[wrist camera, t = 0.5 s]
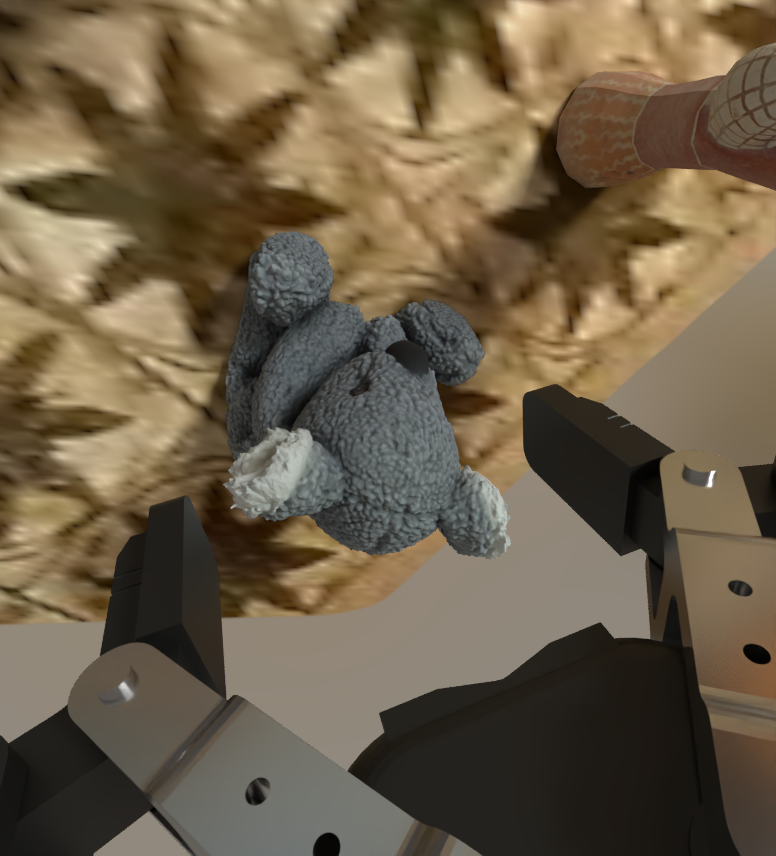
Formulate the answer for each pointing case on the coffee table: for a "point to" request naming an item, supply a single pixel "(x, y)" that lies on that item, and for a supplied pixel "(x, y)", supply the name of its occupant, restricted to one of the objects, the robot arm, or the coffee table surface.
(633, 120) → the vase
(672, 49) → the coffee table surface
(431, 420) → the koala plush
